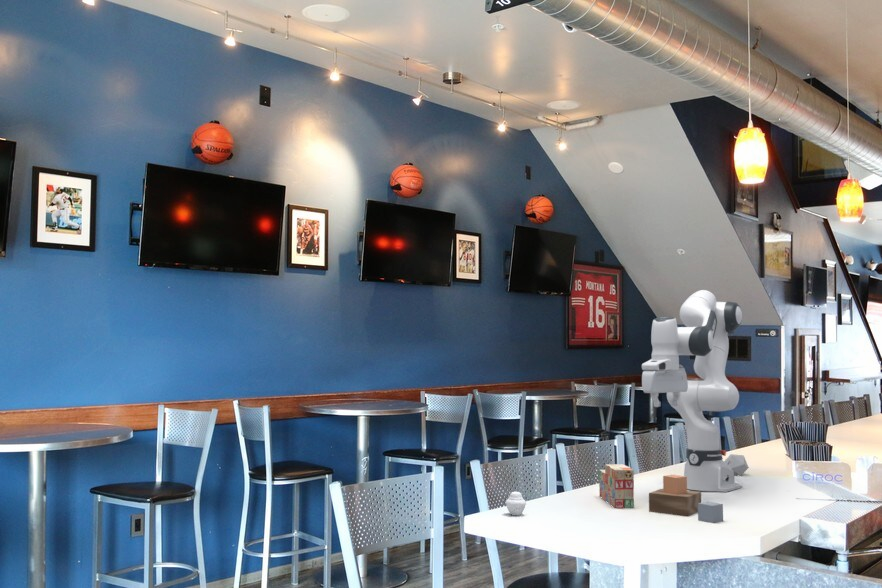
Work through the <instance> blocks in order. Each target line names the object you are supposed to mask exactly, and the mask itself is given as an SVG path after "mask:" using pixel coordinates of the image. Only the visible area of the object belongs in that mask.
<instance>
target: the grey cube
mask: <svg viewBox="0 0 882 588" xmlns="http://www.w3.org/2000/svg"><path fill="white" fill-rule="evenodd" d="M697 520H698V521H699V522H705V523H711V524H716V523H721V522H724V505H723V503H721V502H720V503H719V502H713V501H703V502H702V501H701V503H698V512H697Z"/></svg>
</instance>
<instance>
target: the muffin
mask: <svg viewBox="0 0 882 588" xmlns="http://www.w3.org/2000/svg"><path fill="white" fill-rule="evenodd" d="M505 505H506V508H507V510H508V513H509V515H510V514H512V515H511V516H513V515H519V516H521V515H522V514H523V512H524V511H525V508H526V505H527V502H526V500H525V499H524V498H523V495H522V493H521V492H519V491H516V490H515V491H512V492H510V494H509V496H508V498H507V499H506V500H505ZM520 514H521V515H520Z"/></svg>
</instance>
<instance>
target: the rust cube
mask: <svg viewBox="0 0 882 588" xmlns="http://www.w3.org/2000/svg"><path fill="white" fill-rule="evenodd" d="M662 489H663V492H665V493H671V494H676V495H677V494H684V493H687V491H688V489H687V477H686V476H684V475H679V474H668V475H663V477H662Z"/></svg>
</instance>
